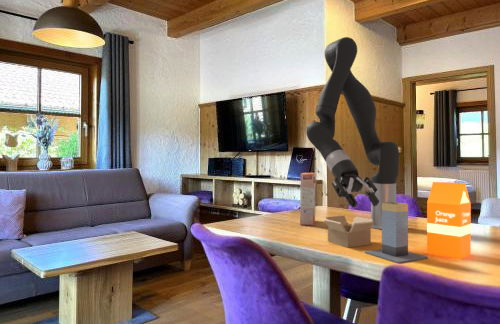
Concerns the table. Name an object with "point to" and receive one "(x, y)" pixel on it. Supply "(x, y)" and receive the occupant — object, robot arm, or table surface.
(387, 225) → the tall two-tone pillar
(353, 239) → the carton
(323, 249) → the table surface
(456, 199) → the orange juice
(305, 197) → the cracker box
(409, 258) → the felt mat
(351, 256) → the table surface
